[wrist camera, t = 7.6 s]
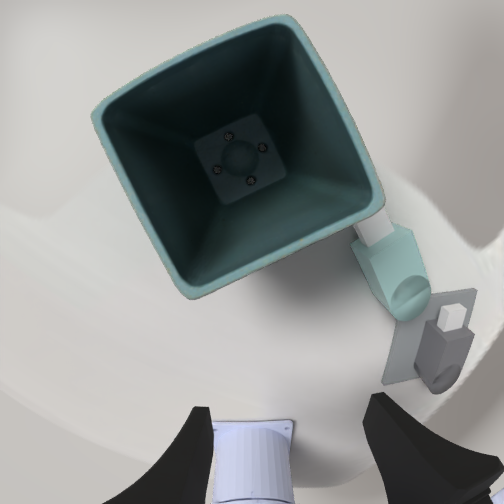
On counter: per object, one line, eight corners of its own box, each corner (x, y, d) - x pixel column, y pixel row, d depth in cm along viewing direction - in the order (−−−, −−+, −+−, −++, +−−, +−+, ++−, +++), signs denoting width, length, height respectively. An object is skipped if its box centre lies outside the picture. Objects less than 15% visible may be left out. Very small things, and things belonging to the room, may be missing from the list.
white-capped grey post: (436, 368, 22) (453, 389, 19) (409, 375, 22) (425, 398, 19) (457, 298, 20) (480, 315, 17) (430, 302, 20) (453, 321, 17)
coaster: (450, 364, 23) (453, 367, 23) (381, 381, 23) (383, 385, 23) (473, 288, 21) (477, 290, 20) (401, 297, 21) (404, 300, 20)
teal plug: (412, 285, 21) (435, 303, 17) (378, 307, 21) (398, 329, 18) (377, 198, 19) (401, 205, 15) (338, 222, 19) (357, 233, 16)
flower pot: (329, 191, 19) (392, 208, 10) (212, 247, 20) (185, 306, 11) (272, 76, 16) (290, 8, 8) (154, 134, 17) (85, 110, 9)
